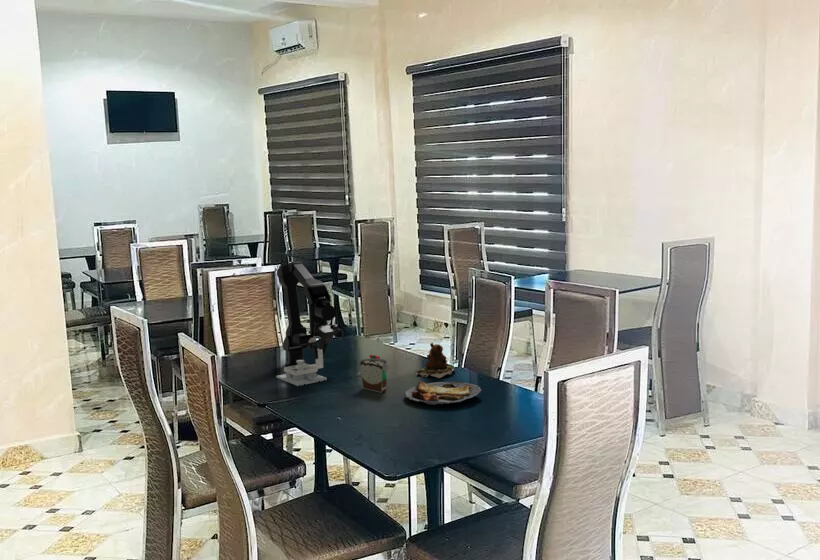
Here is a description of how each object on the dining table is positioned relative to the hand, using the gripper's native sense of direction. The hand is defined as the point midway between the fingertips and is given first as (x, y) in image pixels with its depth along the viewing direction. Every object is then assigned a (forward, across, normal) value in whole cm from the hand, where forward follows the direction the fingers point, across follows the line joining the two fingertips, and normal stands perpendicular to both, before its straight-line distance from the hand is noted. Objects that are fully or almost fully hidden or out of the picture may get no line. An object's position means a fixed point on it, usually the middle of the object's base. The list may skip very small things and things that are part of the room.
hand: (319, 358), depth 295 cm
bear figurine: (+7, +34, -27) cm, 44 cm away
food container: (+7, +5, -31) cm, 32 cm away
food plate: (+7, +14, -54) cm, 57 cm away
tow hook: (+9, +18, -11) cm, 22 cm away
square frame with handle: (+4, -8, 0) cm, 9 cm away
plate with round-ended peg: (+6, -8, 0) cm, 10 cm away
